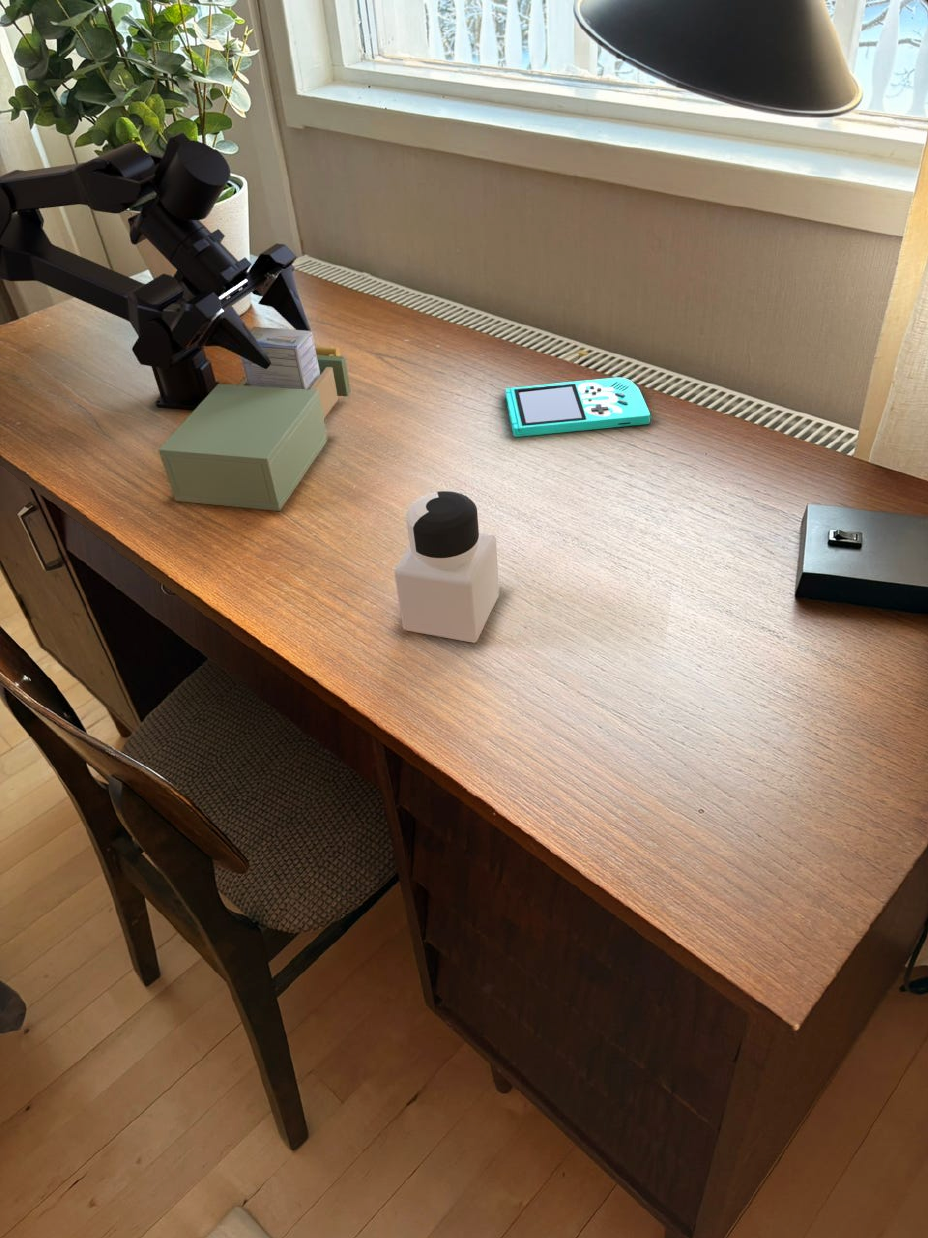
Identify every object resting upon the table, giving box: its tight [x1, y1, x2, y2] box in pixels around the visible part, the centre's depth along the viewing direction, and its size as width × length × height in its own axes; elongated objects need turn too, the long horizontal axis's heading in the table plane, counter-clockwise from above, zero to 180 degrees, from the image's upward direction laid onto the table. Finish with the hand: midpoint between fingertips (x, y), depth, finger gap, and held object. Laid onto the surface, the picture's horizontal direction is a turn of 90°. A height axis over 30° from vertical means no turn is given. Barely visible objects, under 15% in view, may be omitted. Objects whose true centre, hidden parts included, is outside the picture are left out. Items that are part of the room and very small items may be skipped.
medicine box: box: [239, 326, 320, 390], centre depth 112 cm, size 8×4×9 cm, turn 72°
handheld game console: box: [504, 377, 651, 438], centre depth 112 cm, size 10×16×1 cm, turn 94°
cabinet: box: [158, 383, 329, 512], centre depth 106 cm, size 15×13×7 cm
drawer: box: [237, 346, 351, 419], centre depth 115 cm, size 18×11×5 cm, turn 165°
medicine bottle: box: [394, 490, 500, 644], centre depth 83 cm, size 7×7×12 cm
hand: (289, 350), depth 110 cm, fingers open, 8 cm apart
